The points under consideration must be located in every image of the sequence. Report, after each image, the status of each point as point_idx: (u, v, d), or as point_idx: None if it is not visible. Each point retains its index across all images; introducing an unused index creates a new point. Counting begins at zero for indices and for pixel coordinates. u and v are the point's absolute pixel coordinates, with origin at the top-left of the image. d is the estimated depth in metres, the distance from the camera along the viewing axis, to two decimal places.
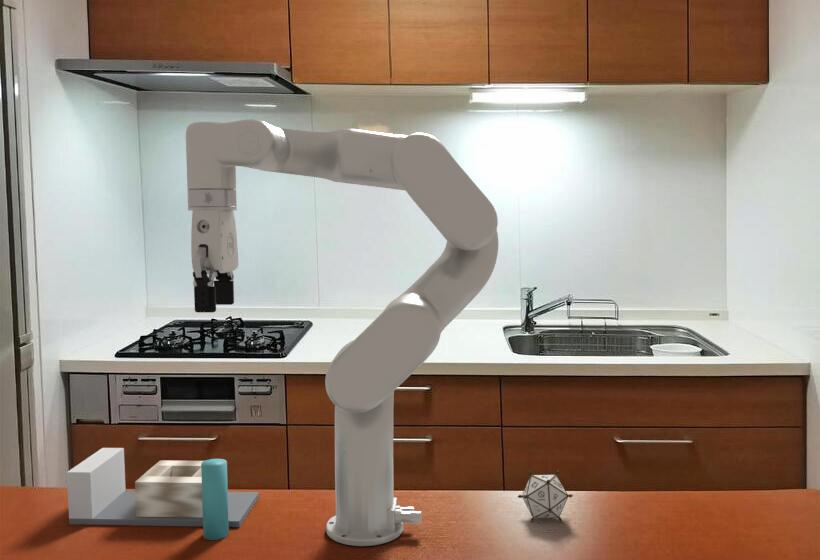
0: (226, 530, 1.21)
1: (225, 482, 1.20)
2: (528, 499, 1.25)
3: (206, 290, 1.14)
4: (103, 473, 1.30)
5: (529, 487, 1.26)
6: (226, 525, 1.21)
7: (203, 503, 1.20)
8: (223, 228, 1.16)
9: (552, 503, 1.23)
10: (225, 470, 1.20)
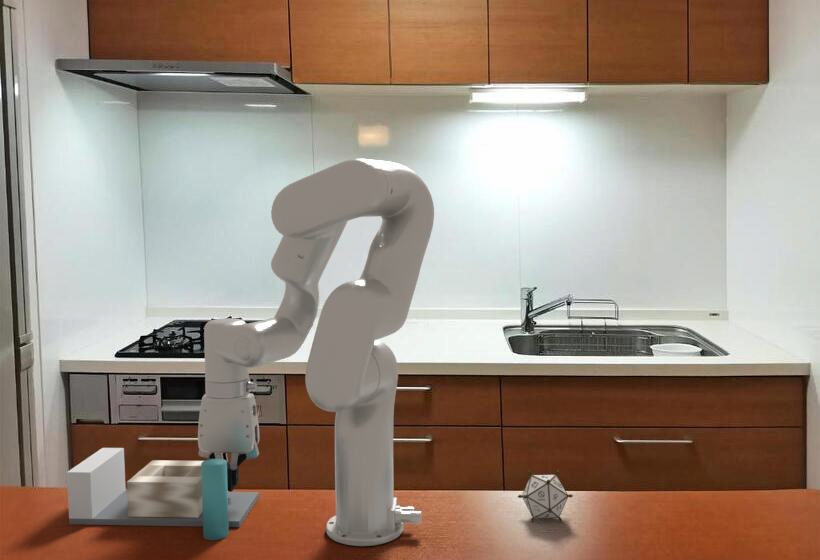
0: (226, 530, 1.21)
1: (225, 482, 1.20)
2: (528, 499, 1.25)
3: (238, 469, 1.34)
4: (103, 473, 1.30)
5: (529, 487, 1.26)
6: (226, 525, 1.21)
7: (203, 503, 1.20)
8: None
9: (552, 503, 1.23)
10: (225, 470, 1.20)
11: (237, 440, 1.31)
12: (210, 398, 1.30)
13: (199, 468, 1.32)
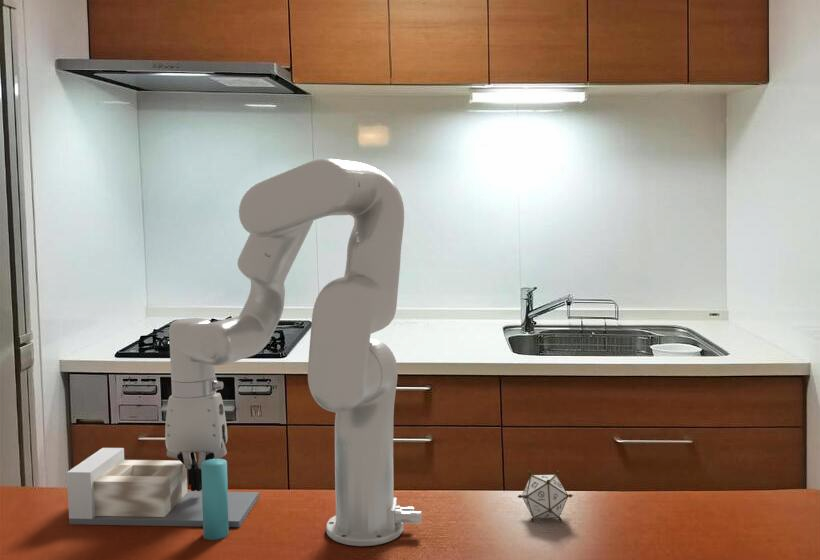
0: (226, 530, 1.21)
1: (225, 482, 1.20)
2: (528, 499, 1.25)
3: None
4: (103, 473, 1.30)
5: (529, 487, 1.26)
6: (226, 525, 1.21)
7: (203, 503, 1.20)
8: None
9: (552, 503, 1.23)
10: (225, 470, 1.20)
11: (204, 439, 1.31)
12: (176, 398, 1.30)
13: (167, 468, 1.32)
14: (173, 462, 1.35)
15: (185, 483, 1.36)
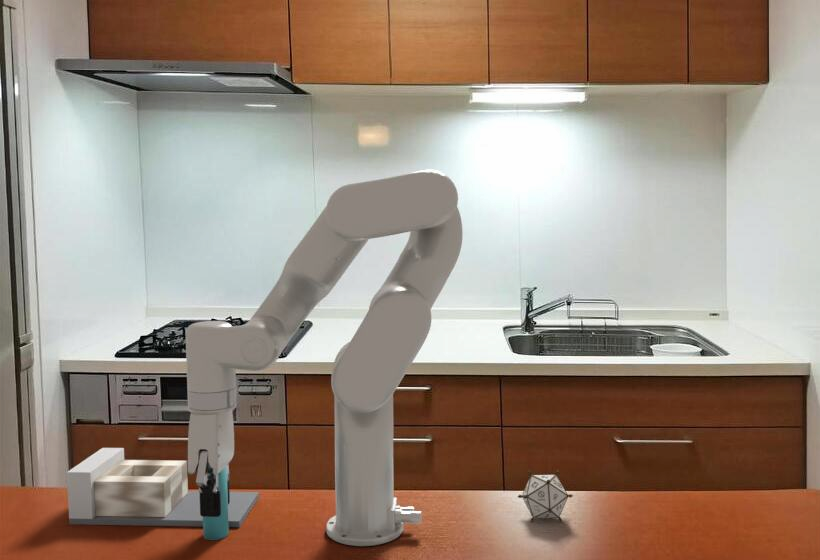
0: (226, 530, 1.21)
1: (225, 482, 1.20)
2: (528, 499, 1.25)
3: None
4: (103, 473, 1.30)
5: (529, 487, 1.26)
6: (226, 525, 1.21)
7: None
8: None
9: (552, 503, 1.23)
10: (225, 470, 1.20)
11: (231, 447, 1.22)
12: (227, 408, 1.17)
13: (168, 468, 1.32)
14: (173, 462, 1.35)
15: (186, 483, 1.36)
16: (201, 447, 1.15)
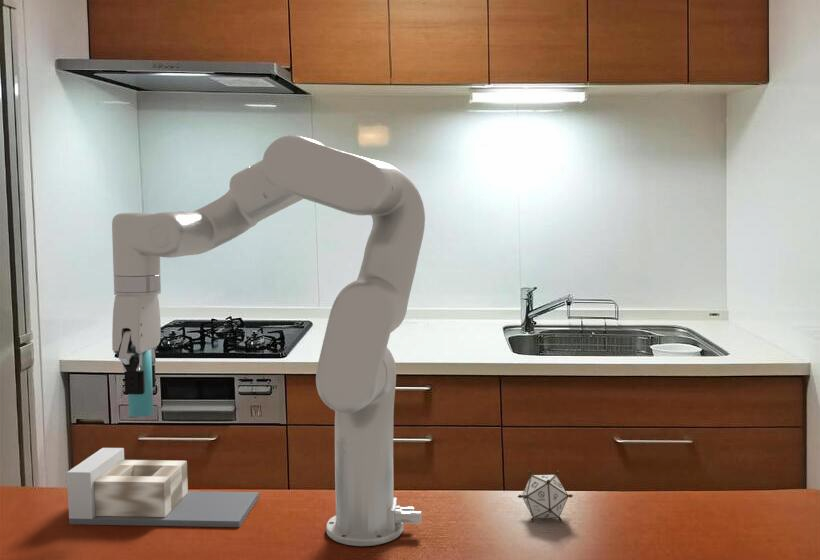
0: (150, 409, 1.29)
1: (149, 363, 1.28)
2: (528, 499, 1.25)
3: None
4: (103, 473, 1.30)
5: (529, 487, 1.26)
6: (150, 404, 1.29)
7: None
8: None
9: (552, 503, 1.23)
10: (149, 352, 1.28)
11: (157, 333, 1.31)
12: (150, 292, 1.26)
13: (168, 468, 1.32)
14: (173, 462, 1.35)
15: (186, 483, 1.36)
16: (125, 326, 1.23)
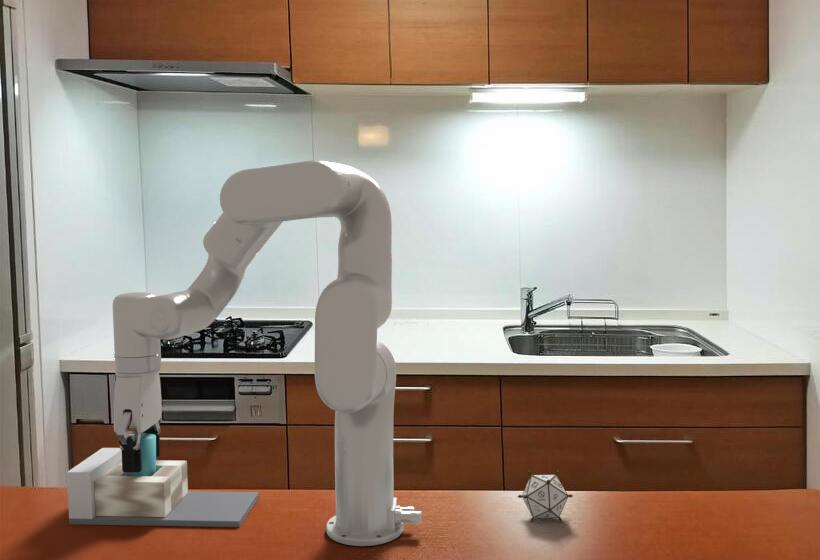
0: None
1: (153, 455, 1.31)
2: (528, 499, 1.25)
3: None
4: (103, 473, 1.30)
5: (529, 487, 1.26)
6: None
7: (132, 474, 1.30)
8: None
9: (552, 503, 1.23)
10: (154, 444, 1.31)
11: (158, 410, 1.32)
12: (151, 372, 1.27)
13: (168, 468, 1.32)
14: (173, 462, 1.35)
15: (186, 483, 1.36)
16: (126, 407, 1.25)
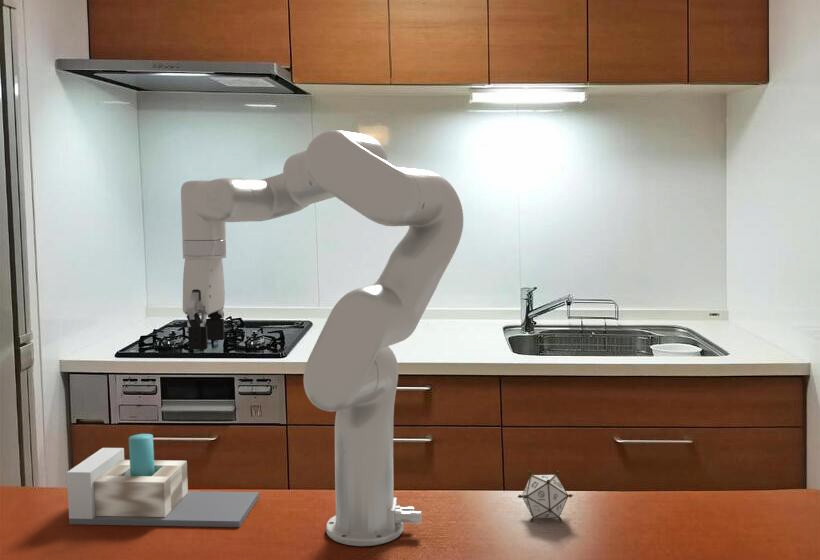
0: None
1: (151, 454, 1.31)
2: (528, 499, 1.25)
3: None
4: (103, 473, 1.30)
5: (529, 487, 1.26)
6: None
7: (131, 474, 1.30)
8: None
9: (552, 503, 1.23)
10: (151, 443, 1.31)
11: (222, 296, 1.37)
12: (218, 256, 1.32)
13: (168, 468, 1.32)
14: (173, 462, 1.35)
15: (186, 483, 1.36)
16: (195, 288, 1.30)
